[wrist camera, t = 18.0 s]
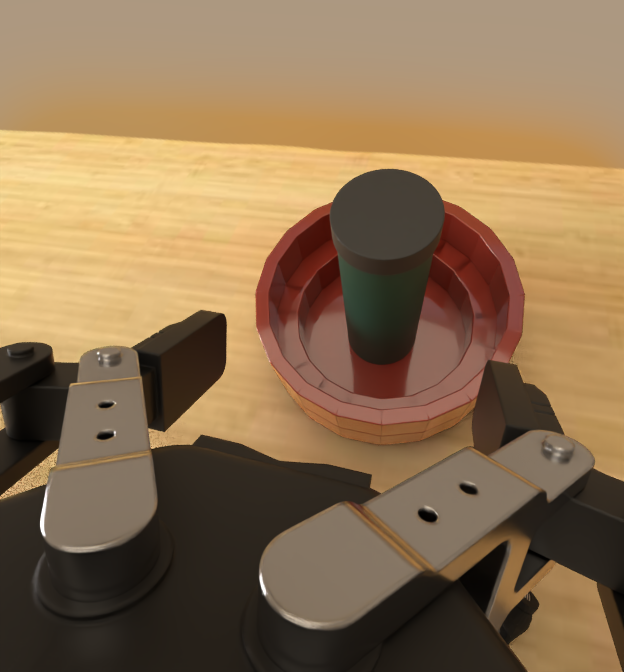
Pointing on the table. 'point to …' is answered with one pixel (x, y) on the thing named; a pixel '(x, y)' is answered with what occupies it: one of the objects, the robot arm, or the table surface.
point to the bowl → (430, 343)
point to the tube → (385, 258)
